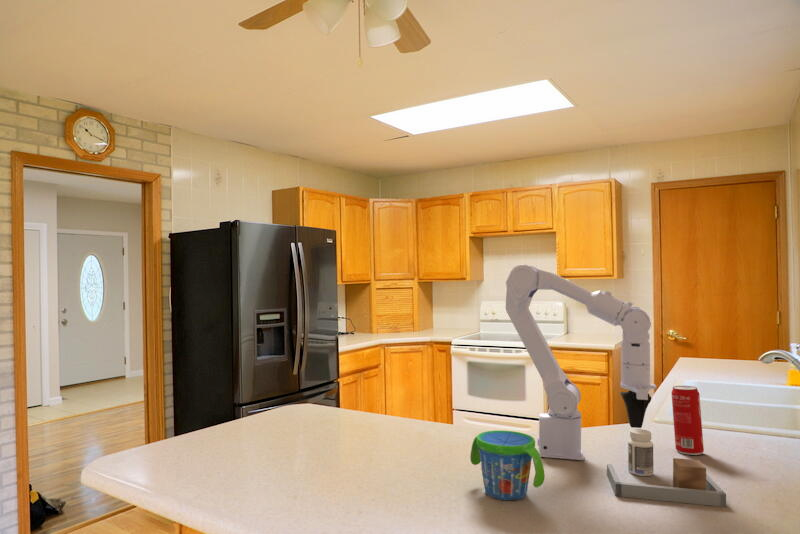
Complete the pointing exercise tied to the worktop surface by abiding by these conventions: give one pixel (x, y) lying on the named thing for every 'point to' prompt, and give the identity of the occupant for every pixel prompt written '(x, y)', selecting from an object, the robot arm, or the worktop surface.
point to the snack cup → (507, 463)
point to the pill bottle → (640, 453)
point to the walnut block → (689, 474)
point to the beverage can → (687, 420)
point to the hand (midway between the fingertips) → (635, 427)
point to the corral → (668, 491)
